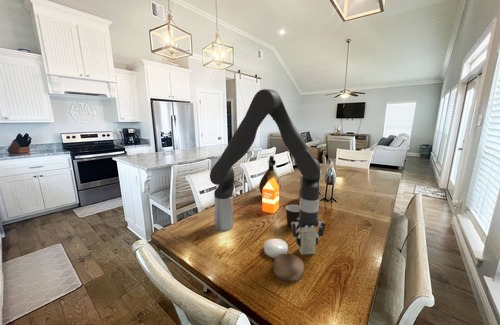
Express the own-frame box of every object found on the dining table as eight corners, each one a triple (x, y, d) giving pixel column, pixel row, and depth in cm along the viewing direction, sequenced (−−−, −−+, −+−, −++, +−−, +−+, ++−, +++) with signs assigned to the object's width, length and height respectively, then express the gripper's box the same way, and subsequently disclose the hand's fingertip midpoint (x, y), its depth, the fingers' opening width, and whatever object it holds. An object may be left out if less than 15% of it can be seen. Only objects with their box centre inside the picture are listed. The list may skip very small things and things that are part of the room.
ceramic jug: (282, 201, 141) (283, 158, 135) (259, 201, 141) (259, 158, 135) (279, 192, 157) (280, 154, 151) (258, 192, 158) (259, 154, 152)
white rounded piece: (265, 258, 84) (265, 252, 83) (263, 243, 93) (263, 238, 93) (289, 257, 84) (289, 252, 83) (285, 243, 94) (285, 238, 93)
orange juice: (262, 211, 127) (262, 179, 123) (267, 205, 134) (268, 176, 130) (273, 213, 123) (274, 181, 119) (279, 208, 131) (279, 177, 127)
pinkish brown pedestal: (276, 282, 71) (276, 274, 71) (271, 260, 82) (272, 254, 81) (307, 281, 72) (307, 273, 71) (299, 260, 82) (299, 253, 82)
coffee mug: (289, 231, 104) (290, 212, 102) (282, 222, 112) (283, 205, 110) (310, 227, 107) (311, 209, 105) (301, 220, 115) (302, 203, 113)
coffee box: (314, 201, 141) (315, 178, 138) (306, 202, 139) (307, 179, 135) (306, 196, 149) (307, 175, 146) (298, 198, 147) (299, 176, 144)
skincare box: (312, 248, 90) (313, 222, 88) (315, 254, 86) (317, 227, 83) (297, 248, 90) (298, 222, 87) (300, 254, 86) (301, 228, 83)
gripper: (293, 212, 80) (292, 250, 83) (330, 211, 80) (327, 249, 84) (289, 204, 87) (288, 240, 91) (322, 203, 88) (320, 239, 91)
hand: (306, 244), depth 87 cm, fingers closed on skincare box, 6 cm apart
